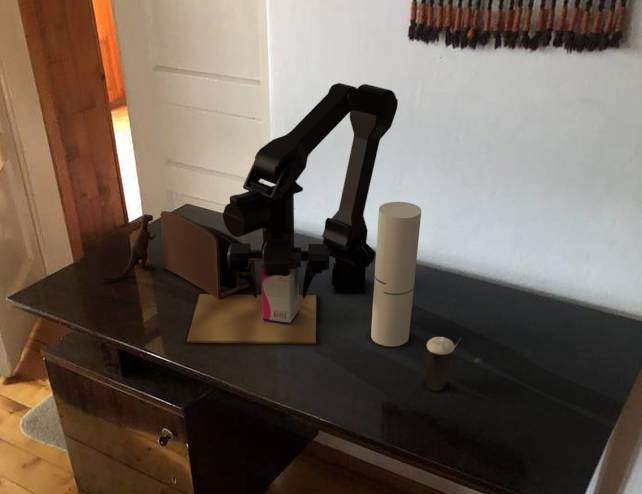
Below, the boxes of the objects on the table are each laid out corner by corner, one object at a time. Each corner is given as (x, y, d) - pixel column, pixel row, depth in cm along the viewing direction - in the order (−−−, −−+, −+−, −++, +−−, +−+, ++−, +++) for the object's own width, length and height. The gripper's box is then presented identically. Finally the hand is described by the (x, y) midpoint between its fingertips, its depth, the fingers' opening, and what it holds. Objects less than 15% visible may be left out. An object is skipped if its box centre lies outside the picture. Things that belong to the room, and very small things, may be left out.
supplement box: (299, 311, 145) (299, 258, 138) (290, 325, 141) (289, 271, 134) (272, 306, 147) (270, 253, 140) (262, 321, 142) (259, 267, 135)
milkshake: (453, 395, 124) (460, 345, 118) (421, 391, 124) (427, 341, 118) (454, 380, 127) (461, 330, 121) (423, 376, 128) (428, 327, 122)
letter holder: (219, 300, 149) (214, 234, 141) (164, 269, 161) (156, 206, 152) (257, 285, 154) (254, 220, 146) (201, 256, 166) (195, 195, 158)
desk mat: (316, 297, 151) (316, 295, 151) (315, 344, 136) (315, 341, 136) (199, 296, 151) (199, 294, 151) (187, 342, 137) (186, 340, 136)
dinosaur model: (155, 212, 156) (99, 239, 147) (166, 262, 163) (112, 290, 154) (143, 208, 158) (87, 234, 149) (154, 258, 165) (101, 285, 156)
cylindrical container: (387, 322, 143) (397, 198, 128) (416, 336, 139) (430, 209, 124) (363, 336, 139) (370, 209, 124) (392, 350, 135) (403, 221, 120)
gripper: (221, 238, 125) (227, 318, 135) (330, 239, 125) (328, 319, 134) (227, 213, 134) (232, 289, 143) (330, 213, 134) (328, 290, 143)
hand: (279, 297), depth 141 cm, fingers open, 9 cm apart
